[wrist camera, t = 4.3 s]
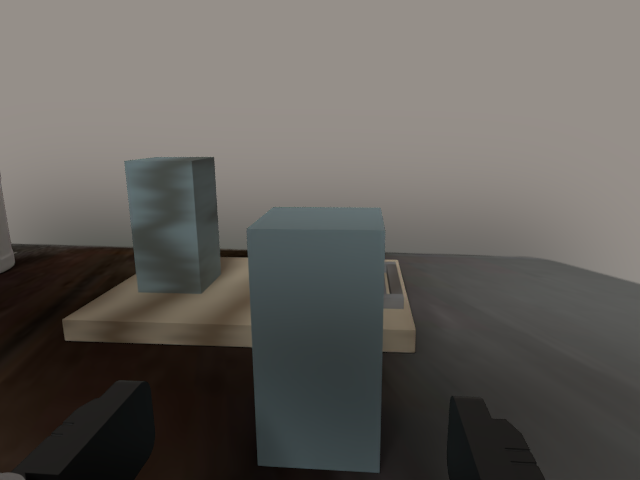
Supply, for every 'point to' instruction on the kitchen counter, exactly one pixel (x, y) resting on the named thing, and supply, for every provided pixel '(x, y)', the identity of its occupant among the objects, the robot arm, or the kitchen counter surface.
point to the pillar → (317, 336)
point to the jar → (5, 239)
